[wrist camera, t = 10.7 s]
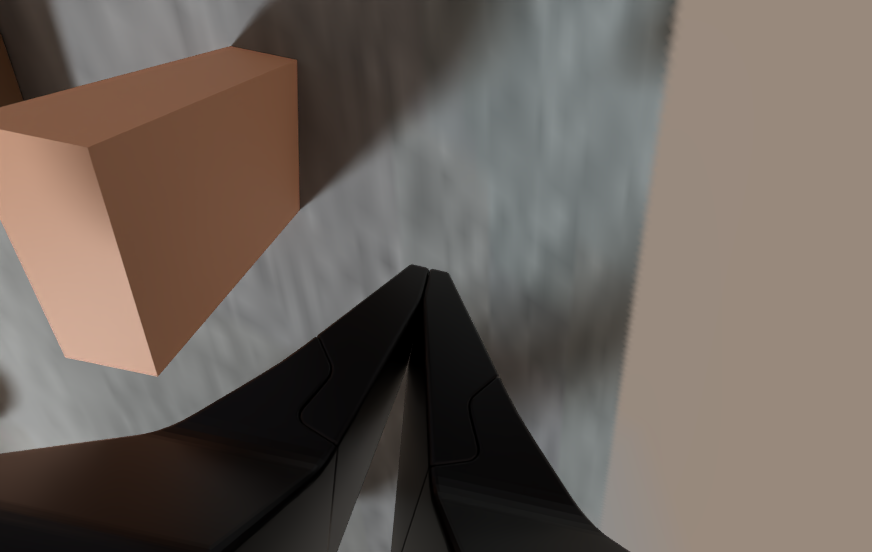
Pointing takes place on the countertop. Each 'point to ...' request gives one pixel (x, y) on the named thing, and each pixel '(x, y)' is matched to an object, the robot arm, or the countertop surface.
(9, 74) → the domino
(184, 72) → the loose domino
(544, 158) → the countertop surface
